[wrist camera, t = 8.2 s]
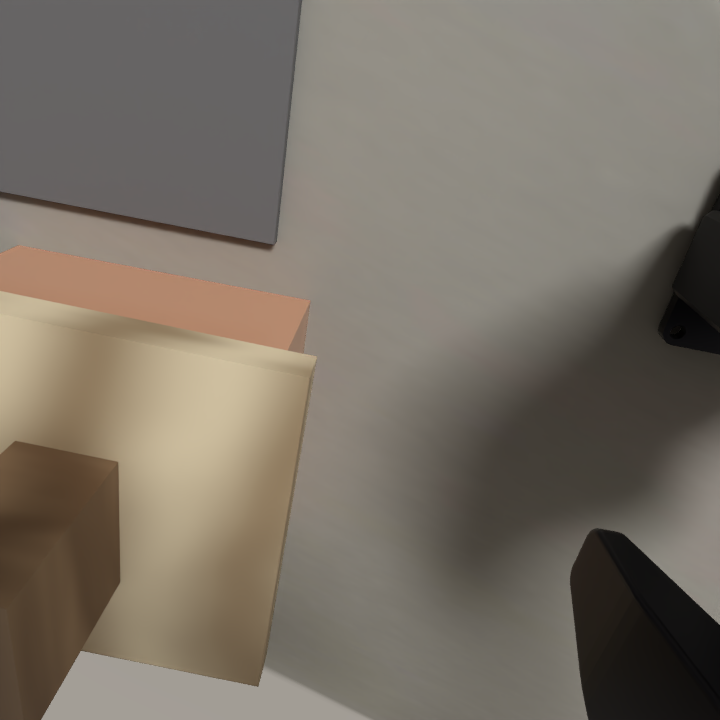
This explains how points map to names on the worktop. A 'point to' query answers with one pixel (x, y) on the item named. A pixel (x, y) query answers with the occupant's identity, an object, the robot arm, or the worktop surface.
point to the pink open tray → (157, 297)
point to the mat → (150, 108)
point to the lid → (139, 495)
